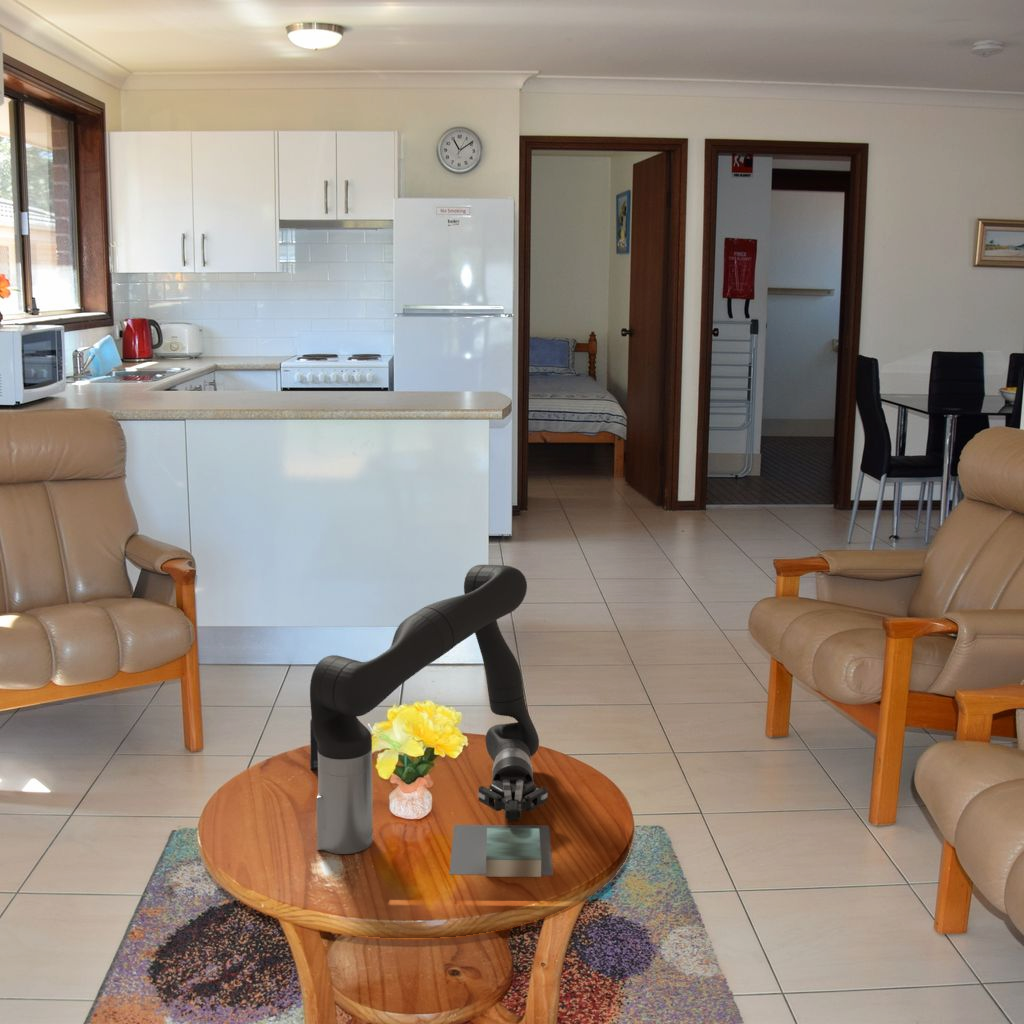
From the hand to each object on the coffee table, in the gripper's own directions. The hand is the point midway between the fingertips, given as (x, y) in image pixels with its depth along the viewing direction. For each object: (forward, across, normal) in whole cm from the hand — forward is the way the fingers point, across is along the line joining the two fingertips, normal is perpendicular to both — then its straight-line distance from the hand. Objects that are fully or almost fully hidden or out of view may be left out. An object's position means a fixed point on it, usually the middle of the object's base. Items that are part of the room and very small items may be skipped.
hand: (513, 815), depth 200 cm
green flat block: (0, 0, +4) cm, 4 cm away
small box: (-38, -37, +6) cm, 53 cm away
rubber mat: (+1, -2, +6) cm, 7 cm away
